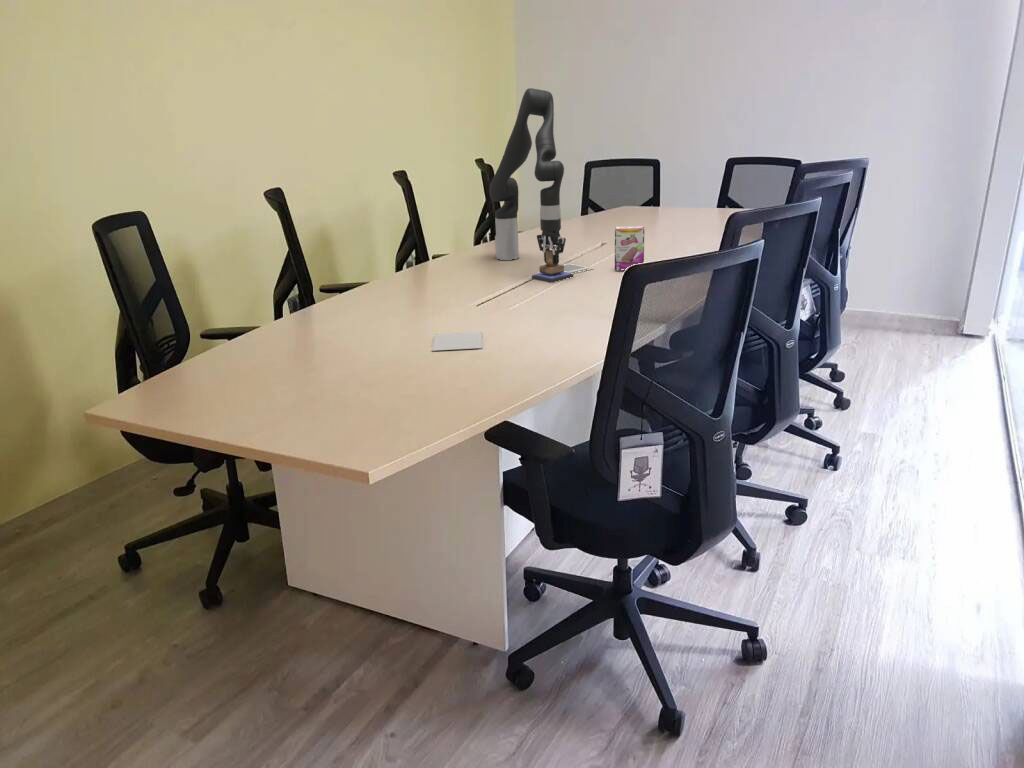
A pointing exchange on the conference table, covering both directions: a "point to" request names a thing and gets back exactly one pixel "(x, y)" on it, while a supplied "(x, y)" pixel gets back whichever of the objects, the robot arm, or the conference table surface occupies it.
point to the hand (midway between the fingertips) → (551, 263)
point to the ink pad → (551, 276)
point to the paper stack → (457, 341)
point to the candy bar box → (628, 246)
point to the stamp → (550, 265)
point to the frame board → (574, 268)
